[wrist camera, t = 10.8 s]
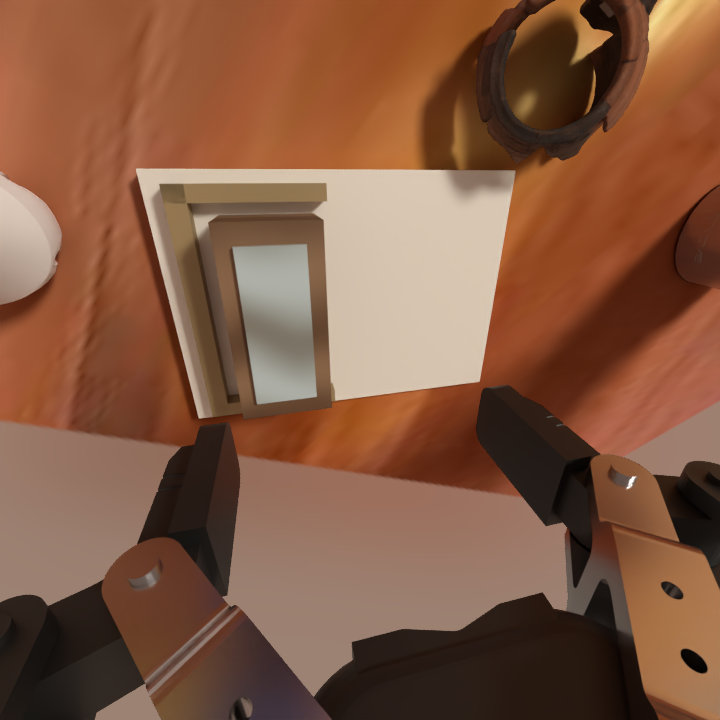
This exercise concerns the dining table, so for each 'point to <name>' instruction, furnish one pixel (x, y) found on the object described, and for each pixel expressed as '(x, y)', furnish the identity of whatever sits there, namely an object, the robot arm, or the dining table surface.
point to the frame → (275, 309)
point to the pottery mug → (611, 64)
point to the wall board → (345, 269)
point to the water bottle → (25, 242)
